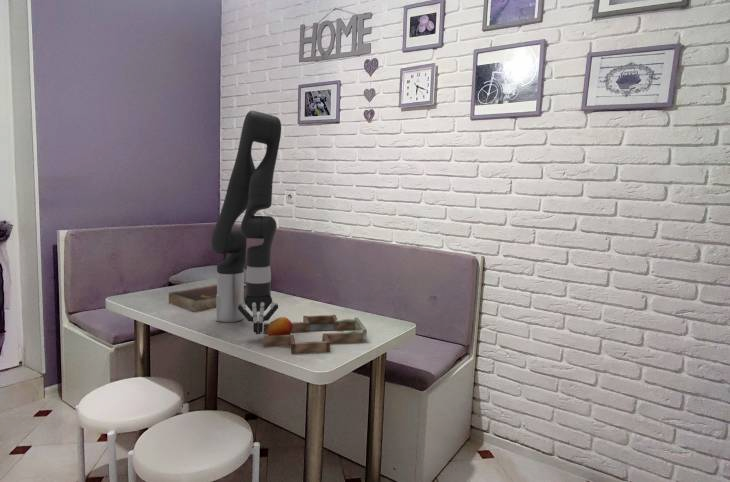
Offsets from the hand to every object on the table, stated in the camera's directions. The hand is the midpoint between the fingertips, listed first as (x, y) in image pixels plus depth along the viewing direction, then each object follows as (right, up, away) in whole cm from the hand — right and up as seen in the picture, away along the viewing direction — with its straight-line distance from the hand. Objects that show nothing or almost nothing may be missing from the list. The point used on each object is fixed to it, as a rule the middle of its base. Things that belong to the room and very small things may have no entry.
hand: (258, 333), depth 142 cm
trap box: (+17, -2, +4) cm, 18 cm away
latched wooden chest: (-28, +4, +44) cm, 52 cm away
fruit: (+6, -2, +2) cm, 7 cm away
